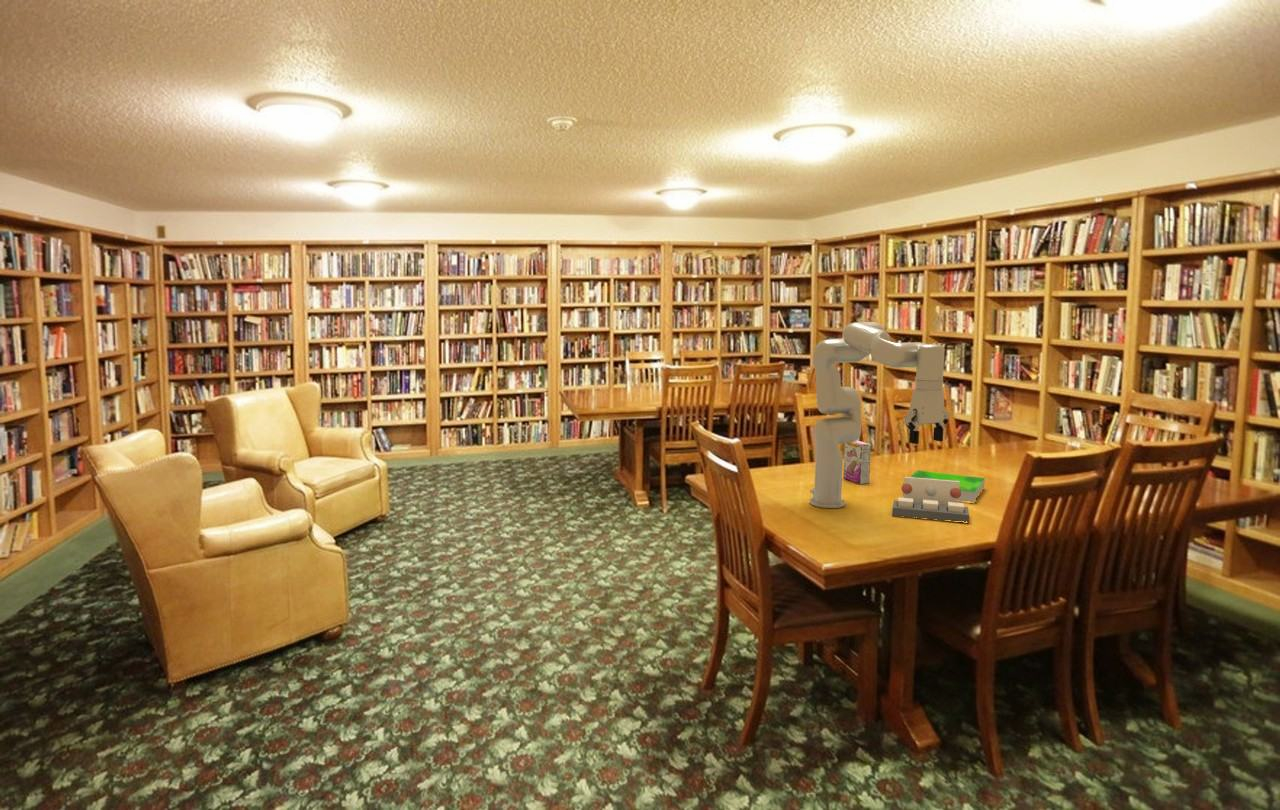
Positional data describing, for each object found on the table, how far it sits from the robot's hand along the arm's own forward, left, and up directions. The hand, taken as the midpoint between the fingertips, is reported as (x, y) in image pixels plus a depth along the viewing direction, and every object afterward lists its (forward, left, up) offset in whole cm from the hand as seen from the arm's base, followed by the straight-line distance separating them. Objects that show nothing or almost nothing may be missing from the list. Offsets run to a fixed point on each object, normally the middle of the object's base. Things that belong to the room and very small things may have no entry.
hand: (925, 442), depth 220 cm
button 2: (-13, +28, -29) cm, 42 cm away
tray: (-41, +51, -32) cm, 73 cm away
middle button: (-19, +22, -29) cm, 41 cm away
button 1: (-25, +17, -29) cm, 42 cm away
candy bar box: (-68, +31, -31) cm, 81 cm away
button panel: (-20, +24, -31) cm, 44 cm away
